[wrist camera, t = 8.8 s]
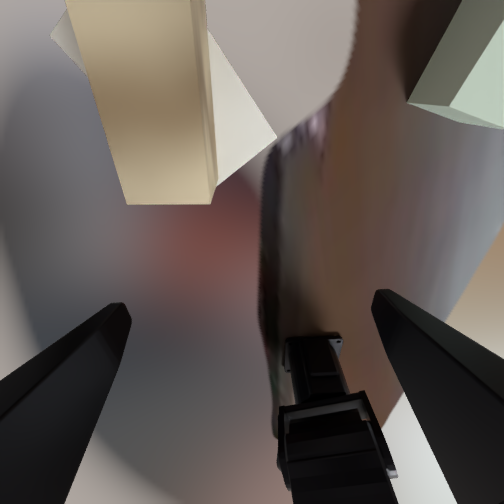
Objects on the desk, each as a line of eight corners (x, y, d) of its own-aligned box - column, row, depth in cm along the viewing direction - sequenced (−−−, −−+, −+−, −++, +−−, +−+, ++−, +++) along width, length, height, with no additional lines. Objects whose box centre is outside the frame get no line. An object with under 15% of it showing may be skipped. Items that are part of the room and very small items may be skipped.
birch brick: (218, 178, 15) (210, 204, 12) (153, 178, 15) (126, 204, 12) (204, -5, 11) (185, -47, 7) (112, -6, 11) (49, -49, 7)
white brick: (272, 130, 16) (277, 137, 14) (206, 183, 18) (200, 198, 16) (156, -52, 12) (132, -90, 9) (84, 45, 14) (49, 35, 11)
